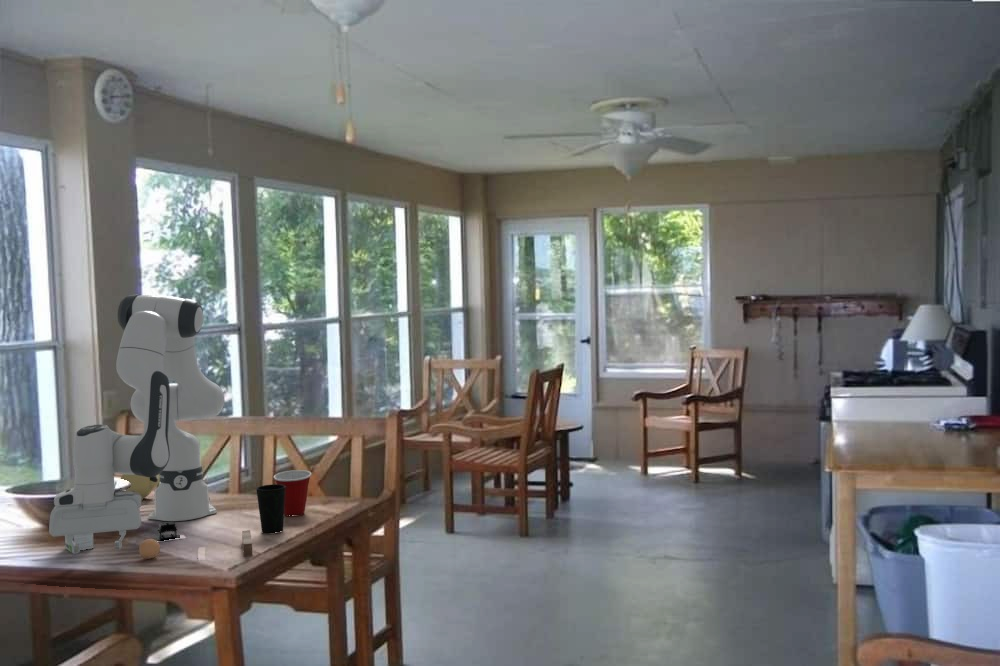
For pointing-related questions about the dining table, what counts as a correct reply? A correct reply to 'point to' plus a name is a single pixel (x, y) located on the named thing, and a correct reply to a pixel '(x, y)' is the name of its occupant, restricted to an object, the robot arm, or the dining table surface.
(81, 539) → the syrup box
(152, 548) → the ball
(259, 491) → the cup
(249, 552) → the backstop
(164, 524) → the black rectangular container
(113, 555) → the dining table surface
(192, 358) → the robot arm
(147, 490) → the pale yellow round toy
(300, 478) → the plastic cup
